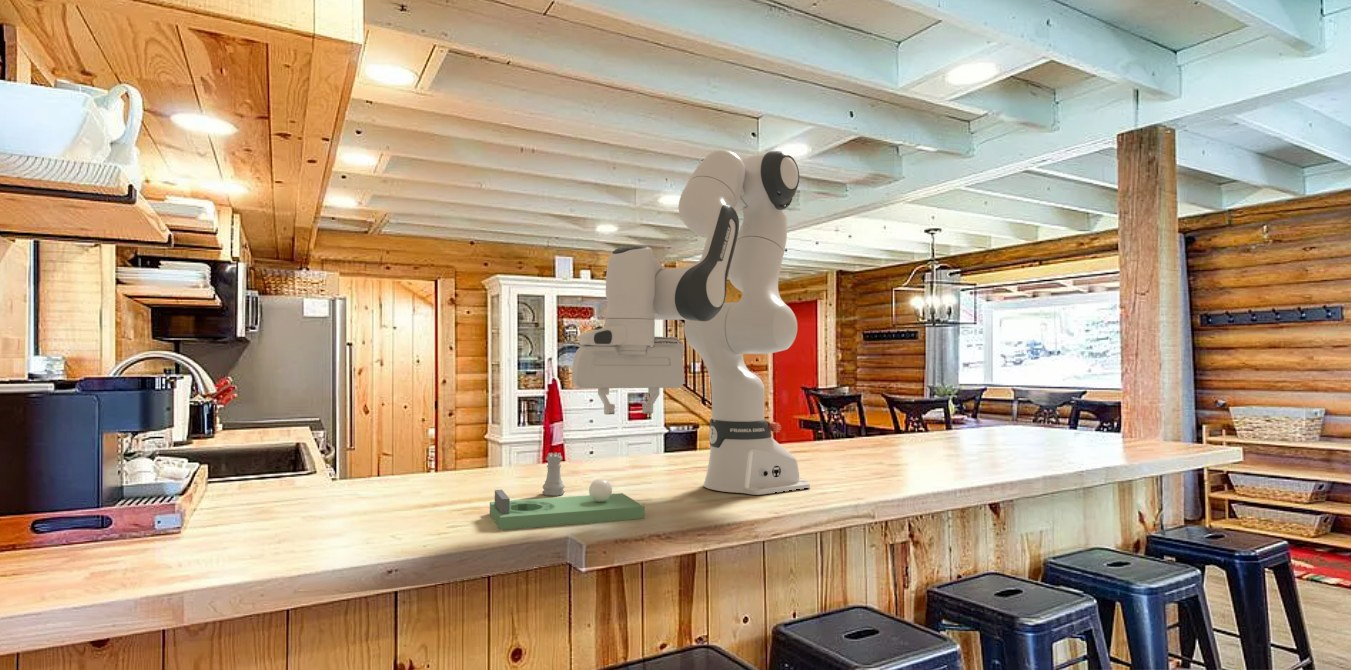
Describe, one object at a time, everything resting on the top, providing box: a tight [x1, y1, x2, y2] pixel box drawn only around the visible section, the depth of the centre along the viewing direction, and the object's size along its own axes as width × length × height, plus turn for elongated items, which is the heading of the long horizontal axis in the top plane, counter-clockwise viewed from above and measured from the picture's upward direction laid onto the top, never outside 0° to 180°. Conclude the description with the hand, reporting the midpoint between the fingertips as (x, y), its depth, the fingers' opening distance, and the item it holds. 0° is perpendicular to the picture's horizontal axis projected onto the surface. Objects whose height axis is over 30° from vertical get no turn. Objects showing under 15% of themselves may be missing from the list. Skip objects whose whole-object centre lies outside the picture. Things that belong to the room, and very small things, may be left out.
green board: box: [489, 489, 645, 531], centre depth 122 cm, size 24×12×4 cm, turn 112°
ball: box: [588, 478, 613, 502], centre depth 124 cm, size 4×4×4 cm
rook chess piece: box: [541, 452, 566, 497], centre depth 140 cm, size 4×4×8 cm
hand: (628, 413), depth 126 cm, fingers open, 6 cm apart
